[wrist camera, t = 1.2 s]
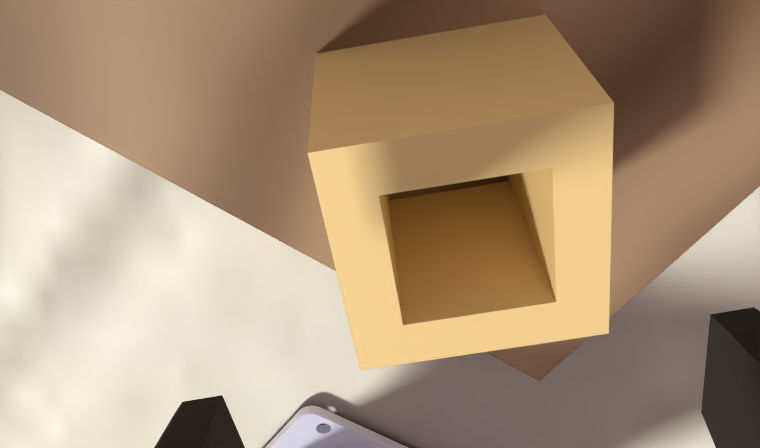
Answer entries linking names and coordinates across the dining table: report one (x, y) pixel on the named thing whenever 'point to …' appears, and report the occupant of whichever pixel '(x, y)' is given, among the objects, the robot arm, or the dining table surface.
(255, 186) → the board
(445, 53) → the square hole block
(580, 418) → the dining table surface
